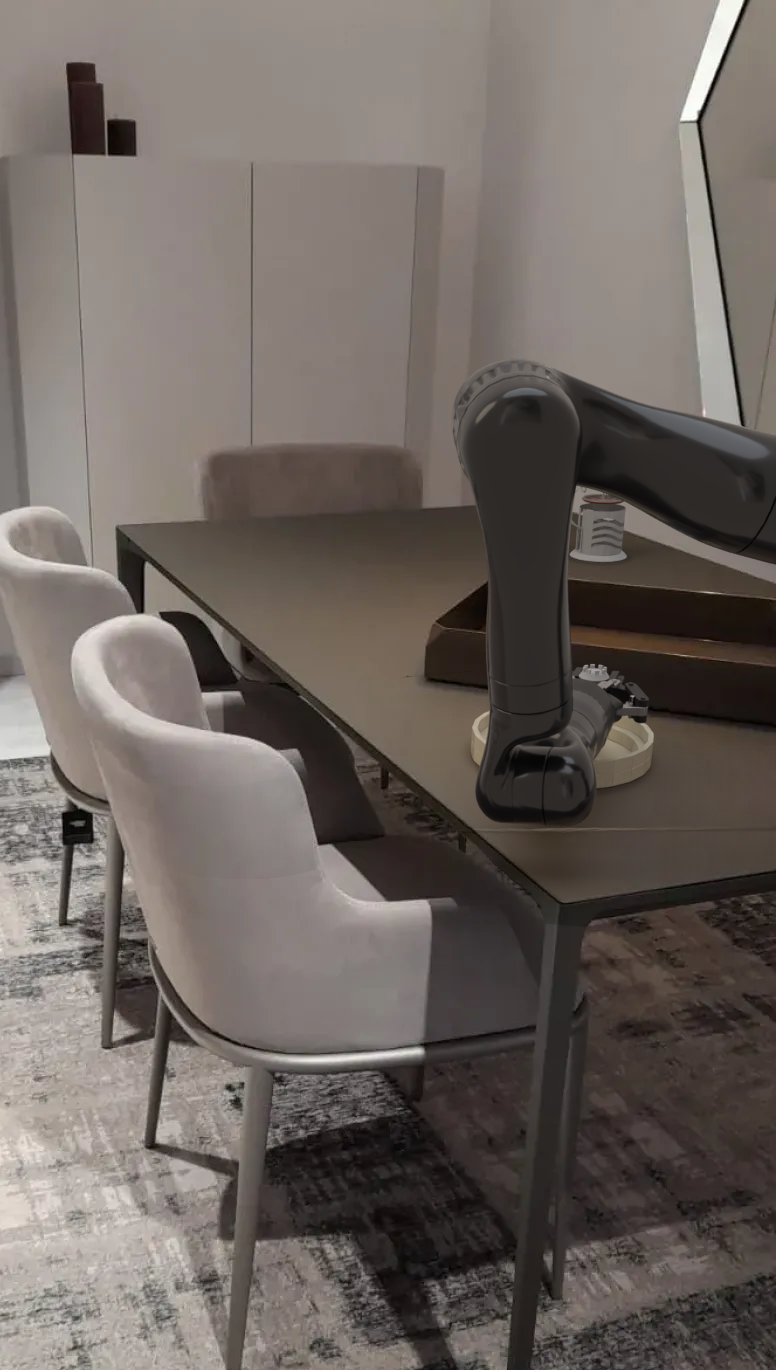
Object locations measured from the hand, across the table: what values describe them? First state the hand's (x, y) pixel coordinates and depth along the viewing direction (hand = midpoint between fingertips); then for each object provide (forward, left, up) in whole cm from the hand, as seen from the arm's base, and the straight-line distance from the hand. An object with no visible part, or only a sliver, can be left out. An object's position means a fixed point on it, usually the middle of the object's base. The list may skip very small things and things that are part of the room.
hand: (597, 678), depth 149 cm
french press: (-20, -93, -8) cm, 96 cm away
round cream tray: (+4, +4, -8) cm, 10 cm away
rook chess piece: (+1, +3, -6) cm, 7 cm away
